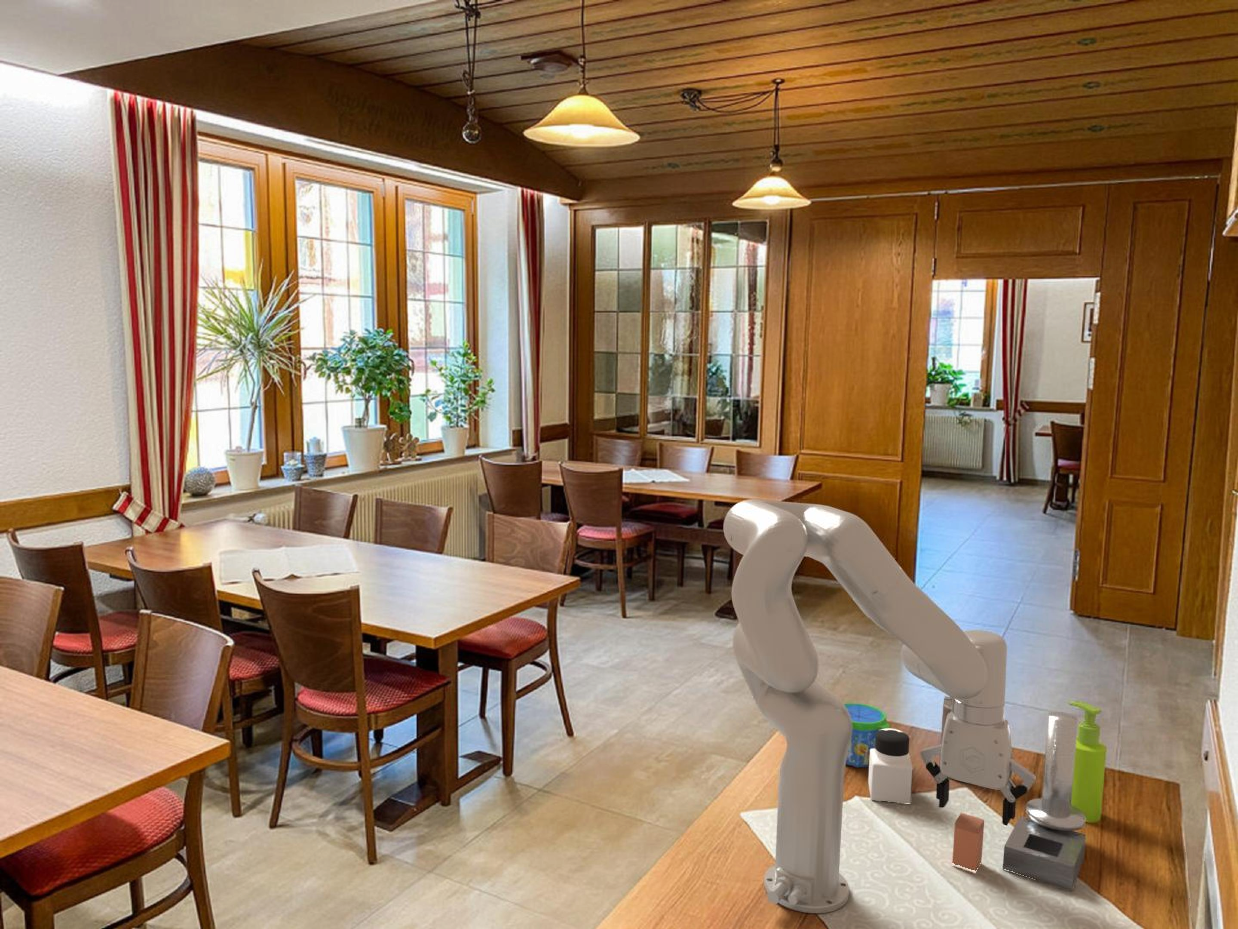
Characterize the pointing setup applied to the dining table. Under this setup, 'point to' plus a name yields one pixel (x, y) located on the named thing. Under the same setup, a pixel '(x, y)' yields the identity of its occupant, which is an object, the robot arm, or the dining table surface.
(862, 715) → the snack cup
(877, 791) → the medicine bottle
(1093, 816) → the soap dispenser
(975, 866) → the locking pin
